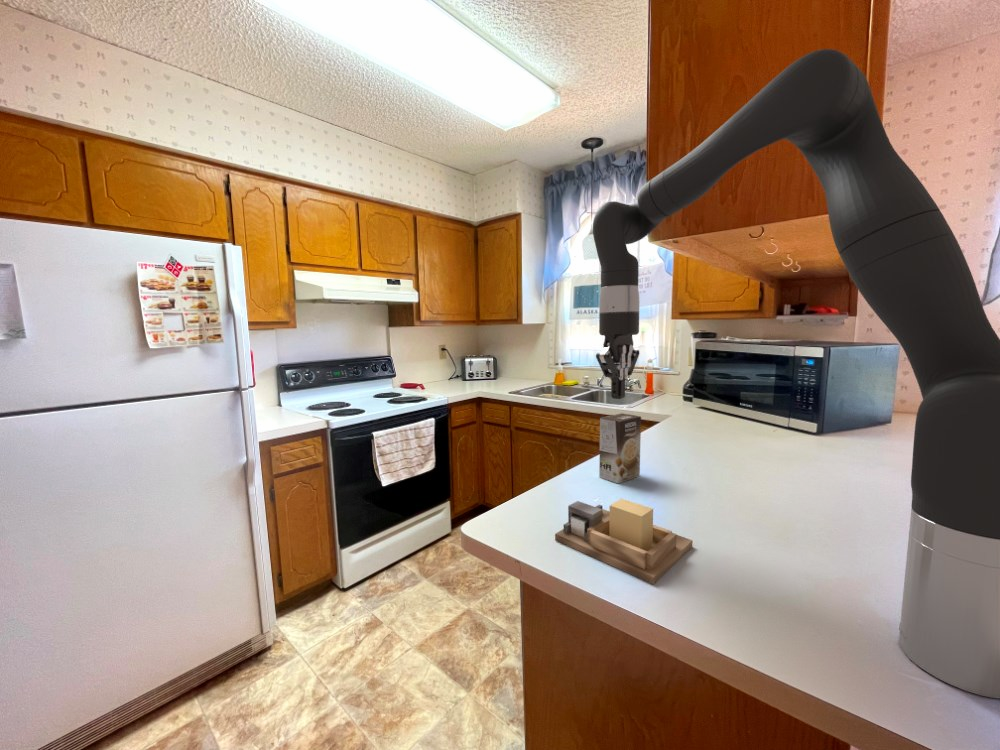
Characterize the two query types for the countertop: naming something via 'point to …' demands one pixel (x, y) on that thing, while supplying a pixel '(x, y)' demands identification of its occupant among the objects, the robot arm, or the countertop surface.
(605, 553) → the brown tray fixture board
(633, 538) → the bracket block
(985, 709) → the countertop surface
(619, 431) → the coffee box
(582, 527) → the light grey small block
